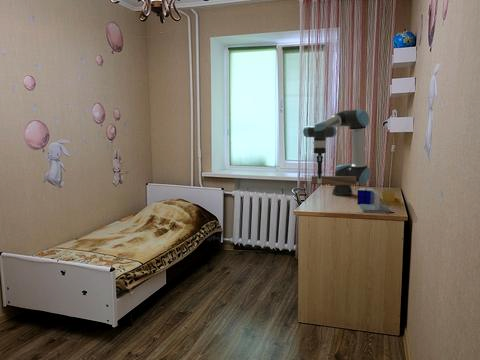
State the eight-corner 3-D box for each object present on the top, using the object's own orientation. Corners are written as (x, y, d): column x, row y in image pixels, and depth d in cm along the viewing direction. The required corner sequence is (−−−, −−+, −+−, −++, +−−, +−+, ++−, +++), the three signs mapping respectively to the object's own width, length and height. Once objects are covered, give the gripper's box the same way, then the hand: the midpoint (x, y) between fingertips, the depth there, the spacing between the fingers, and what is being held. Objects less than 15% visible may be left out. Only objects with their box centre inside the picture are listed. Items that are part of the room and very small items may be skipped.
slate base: (360, 206, 269) (360, 204, 269) (385, 206, 266) (385, 204, 266) (363, 212, 251) (363, 209, 251) (390, 212, 249) (390, 210, 249)
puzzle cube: (357, 204, 275) (357, 190, 274) (359, 201, 285) (359, 187, 283) (372, 205, 271) (373, 190, 270) (374, 202, 280) (374, 188, 279)
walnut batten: (311, 183, 267) (311, 175, 267) (355, 183, 262) (355, 176, 262) (311, 184, 264) (311, 176, 263) (355, 184, 259) (356, 177, 258)
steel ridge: (370, 204, 268) (370, 189, 266) (374, 204, 267) (375, 189, 266) (374, 209, 250) (374, 194, 249) (379, 210, 250) (380, 194, 248)
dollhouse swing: (387, 205, 271) (388, 192, 269) (380, 203, 280) (380, 190, 279) (402, 204, 272) (402, 191, 271) (394, 202, 282) (394, 189, 281)
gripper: (313, 146, 270) (313, 181, 273) (314, 148, 254) (313, 184, 257) (325, 146, 269) (324, 181, 272) (326, 147, 253) (325, 184, 256)
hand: (319, 182), depth 265 cm, fingers closed on walnut batten, 3 cm apart
